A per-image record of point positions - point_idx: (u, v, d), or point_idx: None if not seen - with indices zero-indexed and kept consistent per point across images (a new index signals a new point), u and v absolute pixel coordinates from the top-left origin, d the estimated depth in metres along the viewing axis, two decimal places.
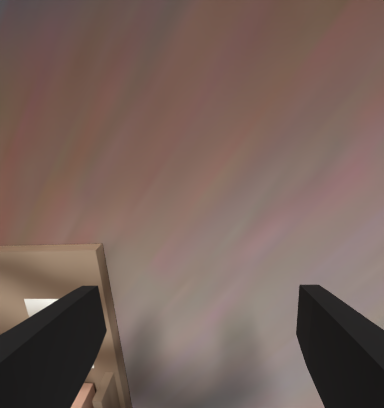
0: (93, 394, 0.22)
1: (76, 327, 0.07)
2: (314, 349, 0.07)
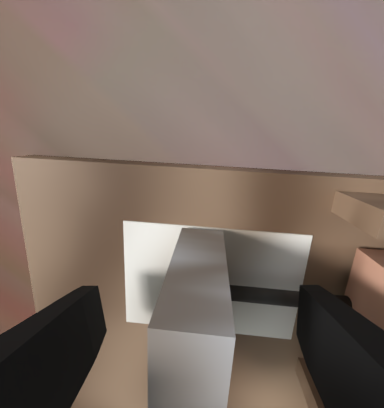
0: None
1: (76, 327, 0.07)
2: (314, 349, 0.07)
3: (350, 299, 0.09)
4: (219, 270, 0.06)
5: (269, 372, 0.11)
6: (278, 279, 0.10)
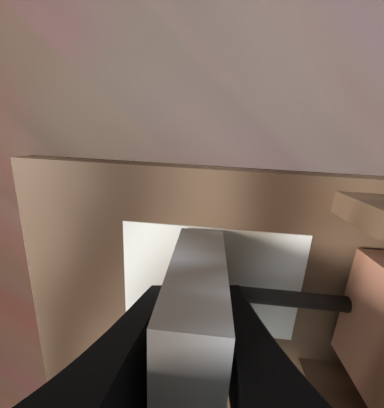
0: None
1: None
2: None
3: (349, 300, 0.09)
4: (219, 271, 0.06)
5: None
6: (278, 279, 0.10)
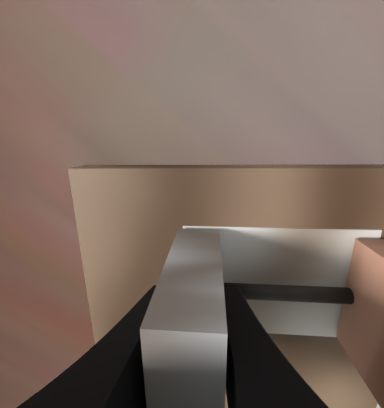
0: None
1: None
2: None
3: (351, 291, 0.09)
4: (214, 268, 0.06)
5: (333, 373, 0.11)
6: (344, 277, 0.09)
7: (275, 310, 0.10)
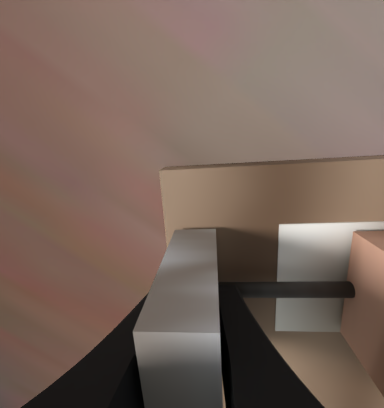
0: None
1: None
2: None
3: (352, 284, 0.09)
4: (209, 268, 0.06)
5: None
6: None
7: None
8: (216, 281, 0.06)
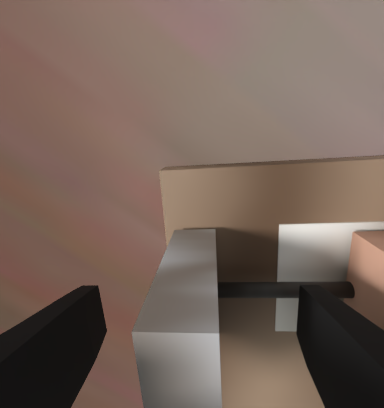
0: None
1: (76, 327, 0.07)
2: (314, 349, 0.07)
3: (352, 285, 0.09)
4: (208, 268, 0.06)
5: None
6: None
7: None
8: (215, 281, 0.06)
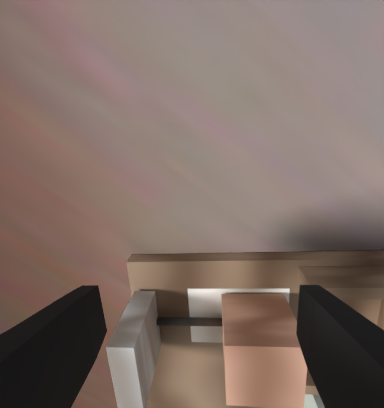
0: (236, 296, 0.17)
1: (76, 327, 0.07)
2: (314, 349, 0.07)
3: (222, 319, 0.17)
4: (141, 318, 0.15)
5: None
6: None
7: None
8: (141, 326, 0.14)
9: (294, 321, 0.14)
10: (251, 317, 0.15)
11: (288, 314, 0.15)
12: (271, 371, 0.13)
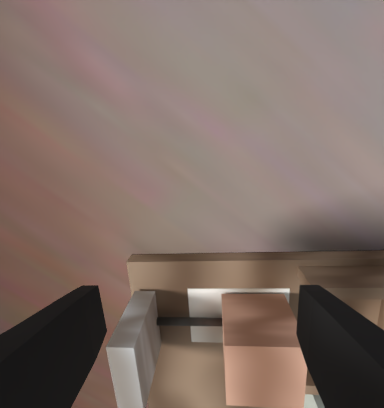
0: (236, 296, 0.17)
1: (76, 327, 0.07)
2: (314, 349, 0.07)
3: (222, 319, 0.17)
4: (141, 318, 0.15)
5: None
6: None
7: None
8: (141, 326, 0.14)
9: (294, 321, 0.14)
10: (251, 317, 0.15)
11: (288, 314, 0.15)
12: (271, 371, 0.13)
